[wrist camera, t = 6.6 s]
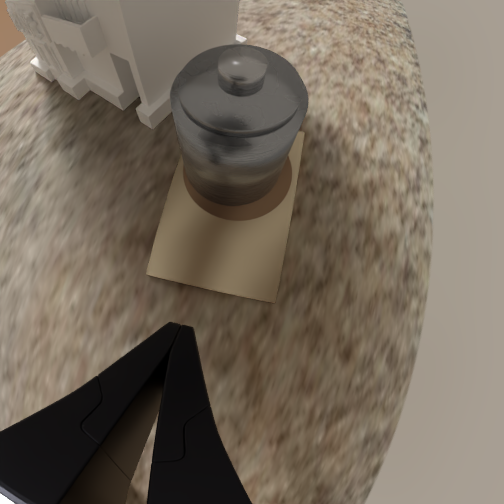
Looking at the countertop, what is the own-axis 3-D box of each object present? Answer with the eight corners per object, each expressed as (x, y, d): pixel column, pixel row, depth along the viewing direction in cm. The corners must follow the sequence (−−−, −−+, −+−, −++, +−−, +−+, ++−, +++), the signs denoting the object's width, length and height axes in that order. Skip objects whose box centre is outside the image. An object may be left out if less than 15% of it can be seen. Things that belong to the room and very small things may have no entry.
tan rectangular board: (147, 275, 21) (145, 274, 20) (197, 113, 24) (197, 109, 23) (274, 303, 22) (275, 303, 21) (303, 136, 25) (304, 132, 24)
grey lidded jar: (173, 194, 22) (139, 106, 11) (199, 115, 23) (193, 15, 13) (271, 215, 22) (312, 137, 12) (287, 133, 24) (323, 38, 13)
